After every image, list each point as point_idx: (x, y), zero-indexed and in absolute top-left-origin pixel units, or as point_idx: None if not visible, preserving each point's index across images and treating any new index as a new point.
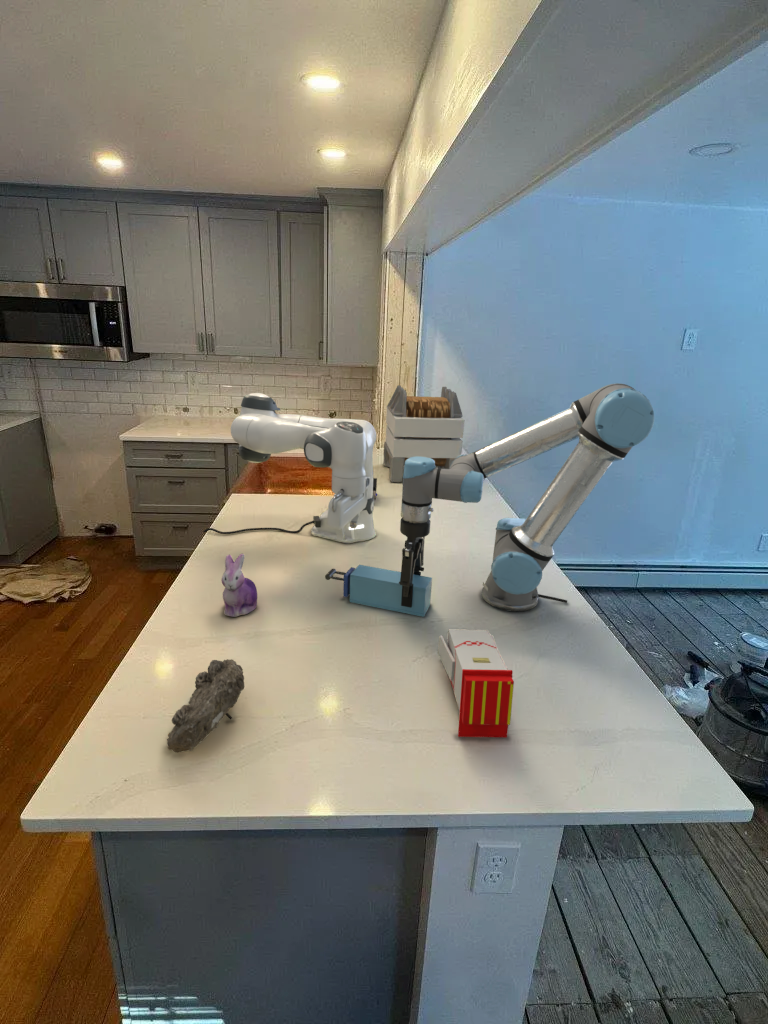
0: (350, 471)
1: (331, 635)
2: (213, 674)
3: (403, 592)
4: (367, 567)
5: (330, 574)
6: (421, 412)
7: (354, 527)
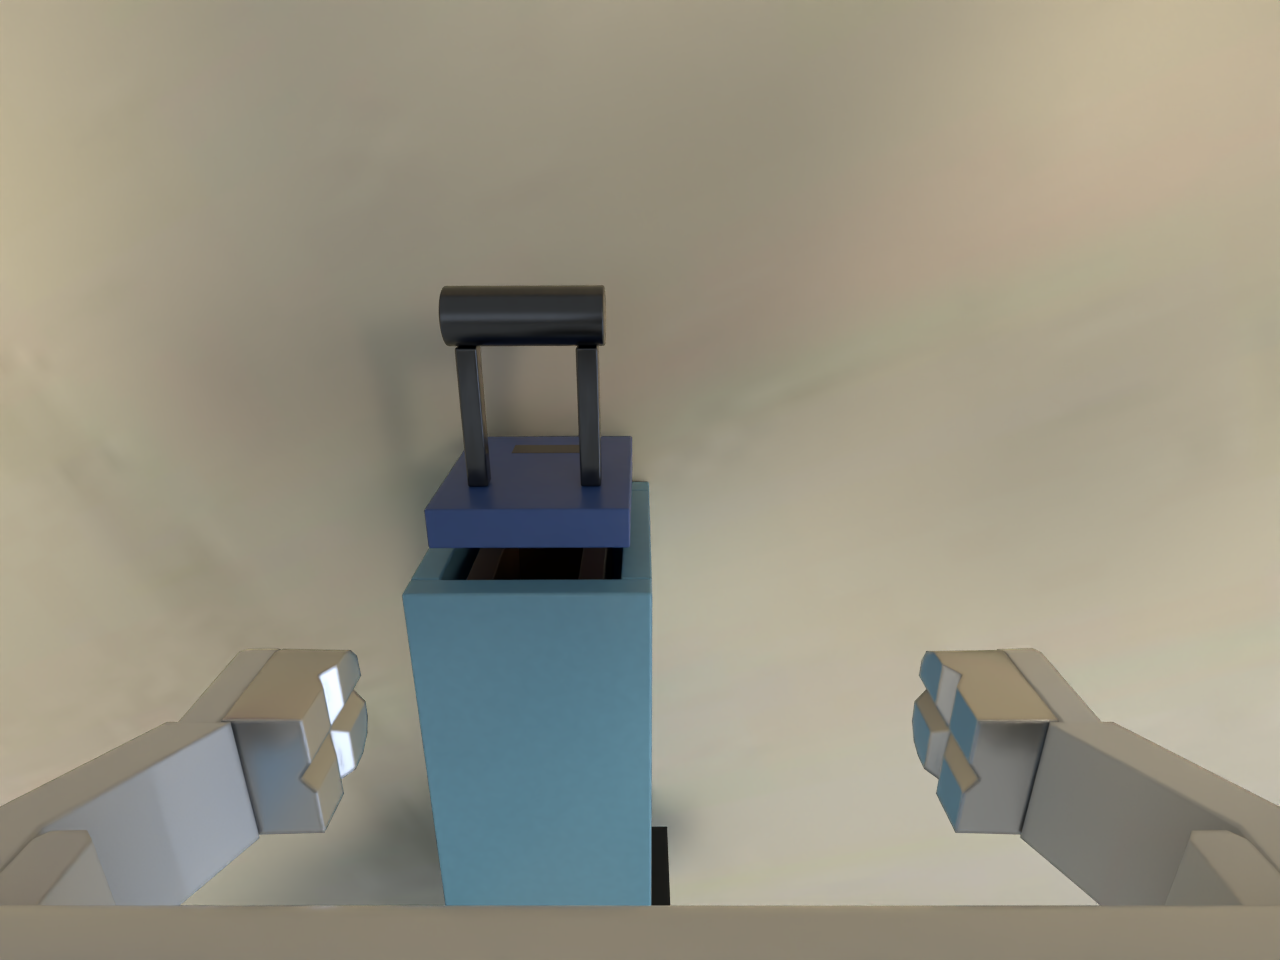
0: None
1: (33, 530)
2: None
3: None
4: (618, 678)
5: (472, 339)
6: None
7: (921, 734)
